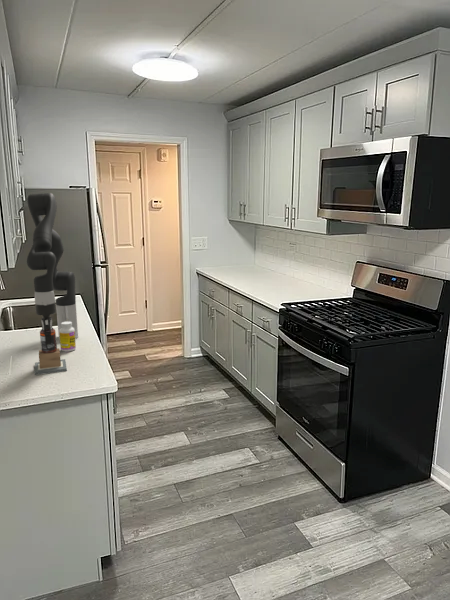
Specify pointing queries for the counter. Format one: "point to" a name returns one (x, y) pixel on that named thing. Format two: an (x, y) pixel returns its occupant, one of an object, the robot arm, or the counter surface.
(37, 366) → the mat
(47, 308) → the robot arm
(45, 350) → the supplement bottle
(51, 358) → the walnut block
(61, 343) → the supplement bottle
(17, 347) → the counter surface
